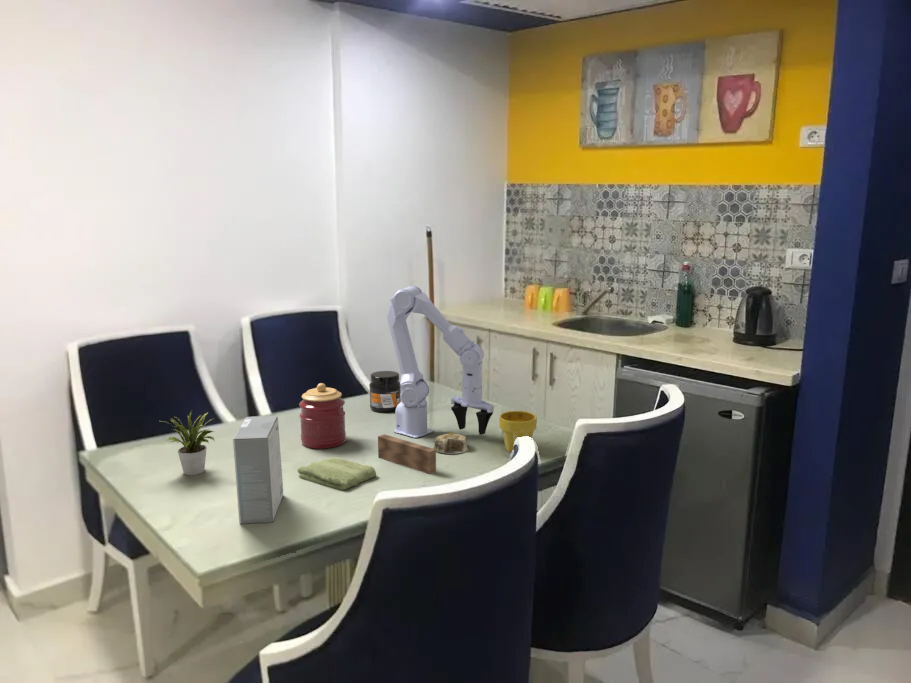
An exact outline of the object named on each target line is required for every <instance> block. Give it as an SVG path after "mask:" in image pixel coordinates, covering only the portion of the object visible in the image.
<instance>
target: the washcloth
mask: <svg viewBox="0 0 911 683" xmlns="http://www.w3.org/2000/svg"><path fill="white" fill-rule="evenodd" d="M297 473H298V478H300V479H303V480H305V481H310V482H313V483H316V484H319V485H324V486H326V487H329V488H333V489H336V490H337V489H338V490H340V491H346V490H347V489H350V488H352V487H355V486H357V485H358V484H360V483H362V482H366V481H368V480H371V479H373V478H375V477H376V476H377V471H376V469H375V468H374V467H373V466H372V465H368V464H363V463H359V462H357V461H356V462H355V461H350V460H345V459H343V458H340V457H337V456H336V457H327V458H326V459H321V460H317V461H313V462H311V463H310V464H308V465H306V466H299V467H297Z"/></svg>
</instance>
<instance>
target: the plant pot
mask: <svg viewBox="0 0 911 683" xmlns="http://www.w3.org/2000/svg"><path fill="white" fill-rule="evenodd" d="M537 420H538V417H537V414H534V413H532V412H528V411H526V410H525V411H523V410H510V411H505V412H503V413H501V414H500V415H499V422H498V423H499V429H500V430H501V432H502V437H503V441H504V445H505V446H504V447H505V450H506V451H507V452H509V453H513V452H512V450H513V444H514V441H515V439H516V438H517V437H522V436H529V437H531V438H533V436H534V432H535V430H536V429H537V422H538V421H537Z"/></svg>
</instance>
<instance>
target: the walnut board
mask: <svg viewBox="0 0 911 683" xmlns="http://www.w3.org/2000/svg"><path fill="white" fill-rule="evenodd" d="M433 448H434V447H433ZM433 448H432V447H429V446H426V445H421V444H419V443H415V442H413V441H408V440H405V439H401V438H398V437H394V436H392V435H388V434H386V433H384V434H381V435H378V436H377V451H378V453H377V454H378V456H377V457H378V458H379V459H383V460H386V461H389V462H390V463H391V462H392V463H395V464H398V465H401V466H404V467H407V468H410V469H413V470H415V471H420V472H423V473H426V474H429V475H431V474H434V473H435V472H437V451H436V449H433Z"/></svg>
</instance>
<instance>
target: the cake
mask: <svg viewBox="0 0 911 683" xmlns="http://www.w3.org/2000/svg"><path fill="white" fill-rule="evenodd" d="M434 439H435V441H434V445H433V449H436V453H441V454H447V455H448V454H451V455H455V454H461V453H465V452H467V451H469V448H468V445H467V437H466V436H464V435H462V434H457V433H454V432H453V431H451V432H448V433H444V434H441V435H437V436H436V437H435V438H434ZM452 450H453V451H457V452H453V453H452V452H447V451H452Z"/></svg>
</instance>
